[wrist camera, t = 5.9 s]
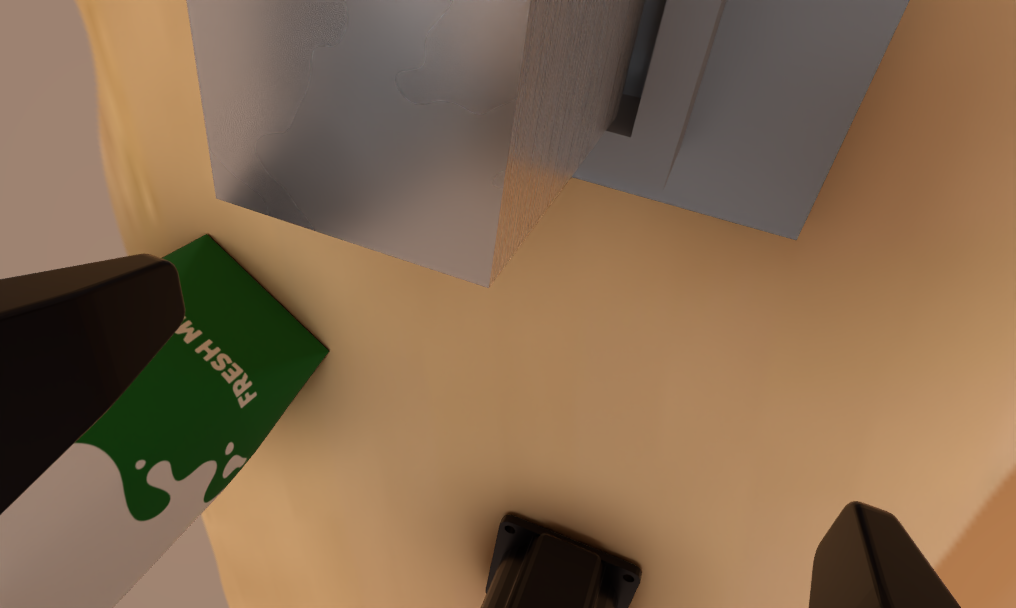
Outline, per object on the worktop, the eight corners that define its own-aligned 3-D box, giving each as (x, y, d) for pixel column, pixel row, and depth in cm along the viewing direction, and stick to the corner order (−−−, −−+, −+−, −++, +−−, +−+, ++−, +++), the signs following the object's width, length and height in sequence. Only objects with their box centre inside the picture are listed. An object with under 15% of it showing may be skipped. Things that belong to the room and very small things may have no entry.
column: (618, 114, 14) (489, 287, 8) (450, 71, 14) (216, 198, 9) (682, -151, 11) (558, -197, 5) (470, -186, 12) (147, -262, 6)
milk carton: (134, 308, 31) (-551, 749, 15) (200, 201, 25) (-766, 717, 10) (268, 431, 32) (-225, 949, 16) (358, 355, 27) (-250, 1020, 11)
